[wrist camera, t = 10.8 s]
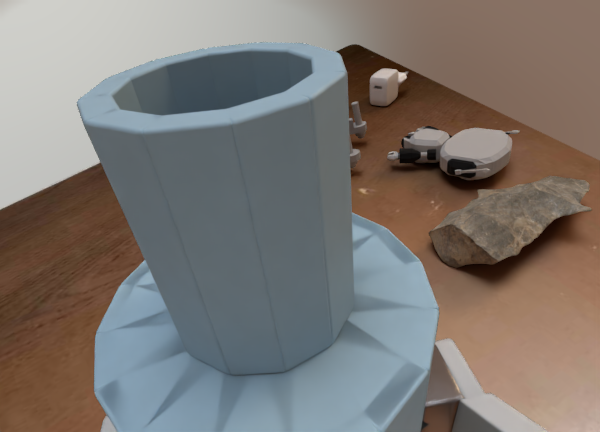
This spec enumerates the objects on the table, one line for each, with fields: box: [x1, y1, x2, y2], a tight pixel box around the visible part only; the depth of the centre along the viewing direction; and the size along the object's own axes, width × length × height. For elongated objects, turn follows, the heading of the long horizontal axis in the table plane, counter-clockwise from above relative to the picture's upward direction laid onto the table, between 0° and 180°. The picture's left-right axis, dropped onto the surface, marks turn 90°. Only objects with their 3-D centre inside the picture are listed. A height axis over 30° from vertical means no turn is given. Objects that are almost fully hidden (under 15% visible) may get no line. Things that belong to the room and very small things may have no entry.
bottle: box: [77, 42, 439, 432], centre depth 10 cm, size 6×6×17 cm
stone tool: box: [429, 176, 592, 268], centre depth 43 cm, size 12×6×20 cm
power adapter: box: [370, 69, 408, 106], centre depth 78 cm, size 11×5×6 cm, turn 146°
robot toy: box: [388, 126, 520, 180], centre depth 55 cm, size 12×4×15 cm
